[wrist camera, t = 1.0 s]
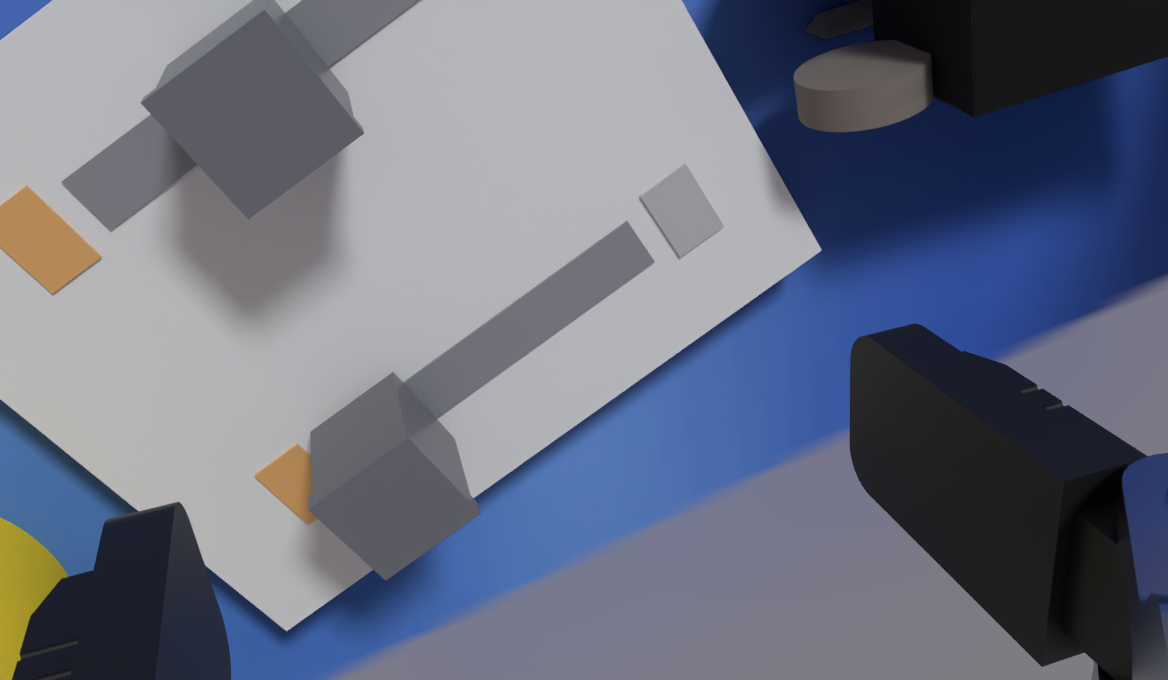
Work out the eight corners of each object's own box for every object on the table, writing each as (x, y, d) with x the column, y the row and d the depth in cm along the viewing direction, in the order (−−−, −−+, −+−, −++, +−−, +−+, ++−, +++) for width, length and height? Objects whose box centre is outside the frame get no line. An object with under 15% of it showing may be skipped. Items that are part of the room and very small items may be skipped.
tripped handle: (267, -17, 24) (264, 9, 21) (353, 93, 26) (364, 133, 22) (160, 64, 24) (140, 102, 21) (253, 168, 26) (248, 219, 23)
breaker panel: (477, -326, 25) (493, -338, 23) (794, 228, 34) (823, 251, 32) (-194, 188, 26) (-230, 215, 24) (286, 591, 35) (286, 633, 33)
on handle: (393, 367, 29) (408, 437, 26) (459, 438, 31) (481, 513, 28) (304, 431, 30) (307, 509, 26) (374, 498, 31) (385, 580, 28)
